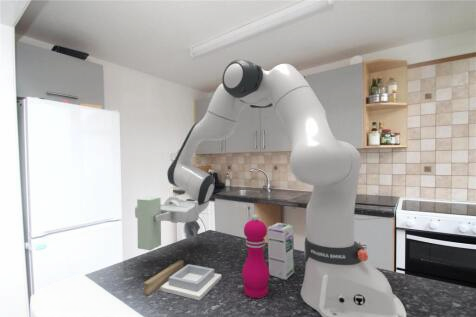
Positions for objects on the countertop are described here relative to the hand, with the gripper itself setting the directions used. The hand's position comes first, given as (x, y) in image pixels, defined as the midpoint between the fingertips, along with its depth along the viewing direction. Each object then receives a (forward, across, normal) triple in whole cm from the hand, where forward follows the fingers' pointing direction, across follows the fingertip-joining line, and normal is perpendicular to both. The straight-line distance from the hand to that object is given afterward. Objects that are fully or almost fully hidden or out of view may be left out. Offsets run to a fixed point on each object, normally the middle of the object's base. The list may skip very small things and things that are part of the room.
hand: (147, 218), depth 70 cm
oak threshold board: (-1, +5, +18) cm, 19 cm away
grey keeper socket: (-3, +13, +18) cm, 22 cm away
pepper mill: (-6, +31, +18) cm, 36 cm away
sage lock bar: (-1, 0, +8) cm, 9 cm away
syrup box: (-18, +35, +18) cm, 43 cm away
